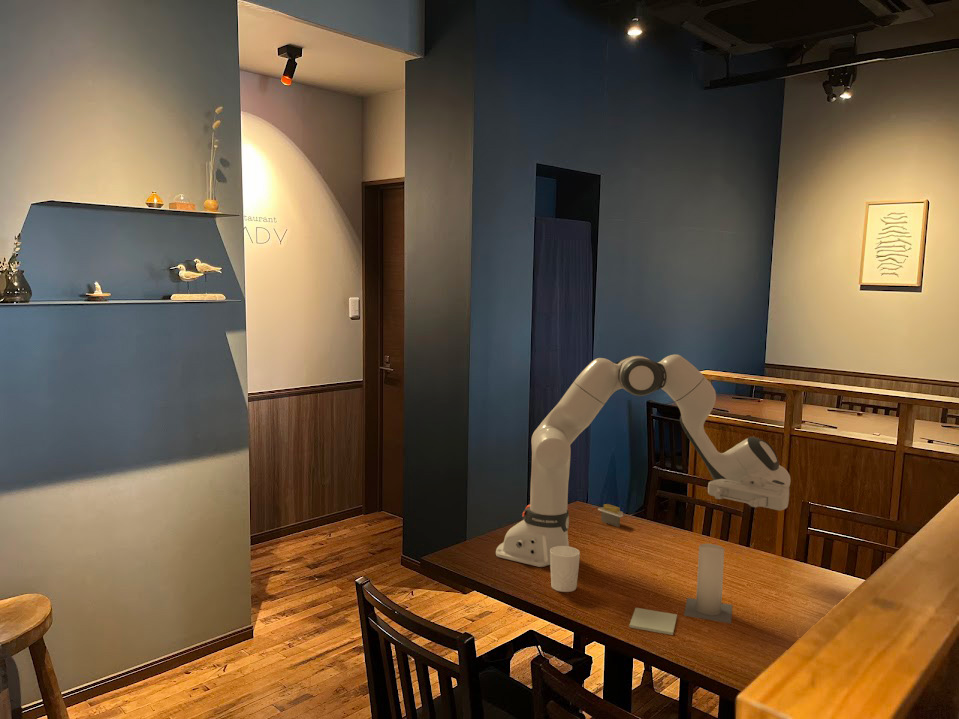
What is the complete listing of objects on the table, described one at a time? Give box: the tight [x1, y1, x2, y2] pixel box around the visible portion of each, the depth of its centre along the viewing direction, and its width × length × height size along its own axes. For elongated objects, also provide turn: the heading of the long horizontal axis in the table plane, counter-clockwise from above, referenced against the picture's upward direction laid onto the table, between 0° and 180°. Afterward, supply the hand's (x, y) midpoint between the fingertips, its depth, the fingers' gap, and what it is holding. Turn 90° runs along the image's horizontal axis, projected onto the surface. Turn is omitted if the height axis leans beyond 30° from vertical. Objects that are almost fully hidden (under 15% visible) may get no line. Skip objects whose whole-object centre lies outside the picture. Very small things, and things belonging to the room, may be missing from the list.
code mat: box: [683, 597, 733, 624], centre depth 180 cm, size 11×11×1 cm
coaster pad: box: [628, 607, 678, 636], centre depth 173 cm, size 10×10×1 cm
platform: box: [597, 503, 624, 528], centre depth 245 cm, size 12×18×7 cm, turn 39°
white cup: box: [549, 545, 581, 593], centre depth 192 cm, size 8×8×10 cm
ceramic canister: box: [695, 543, 725, 615], centre depth 179 cm, size 6×6×16 cm
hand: (734, 499), depth 186 cm, fingers open, 8 cm apart
